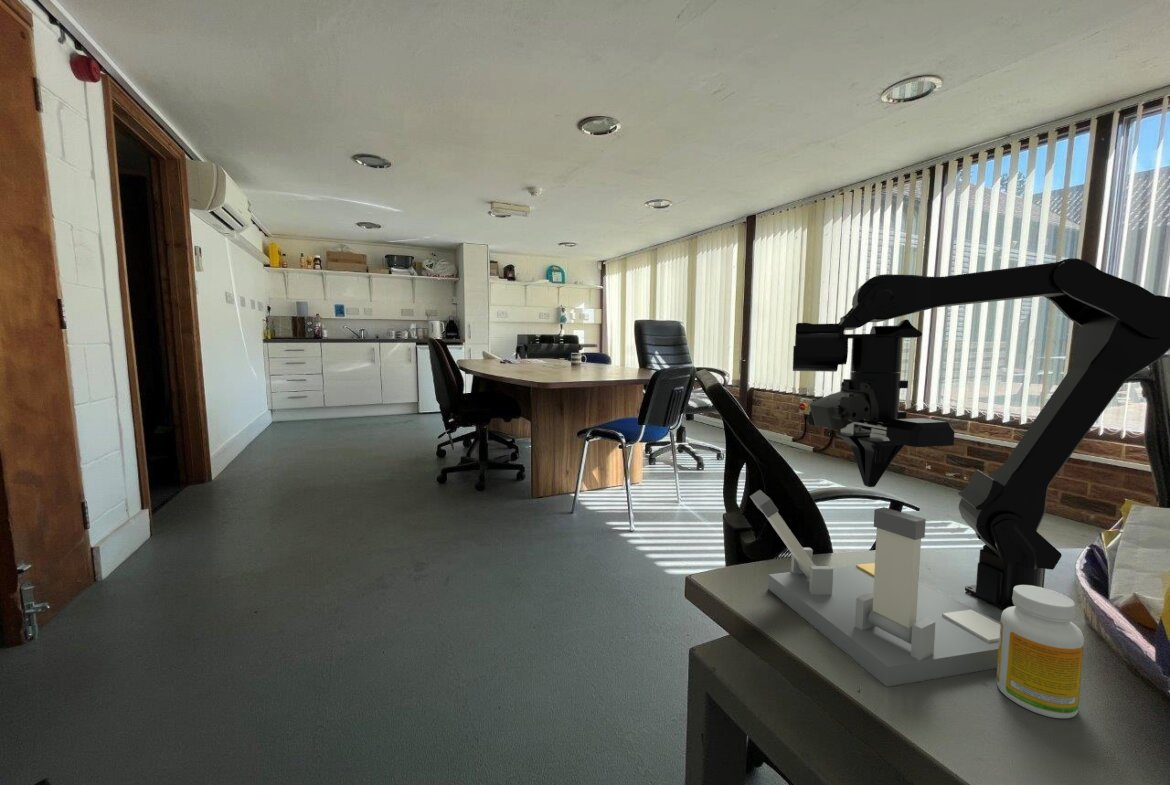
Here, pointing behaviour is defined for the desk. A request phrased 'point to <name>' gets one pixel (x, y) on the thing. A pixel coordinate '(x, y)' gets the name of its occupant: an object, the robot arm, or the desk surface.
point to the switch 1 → (783, 531)
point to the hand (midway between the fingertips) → (869, 486)
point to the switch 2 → (896, 571)
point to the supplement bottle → (1040, 652)
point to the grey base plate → (840, 612)
